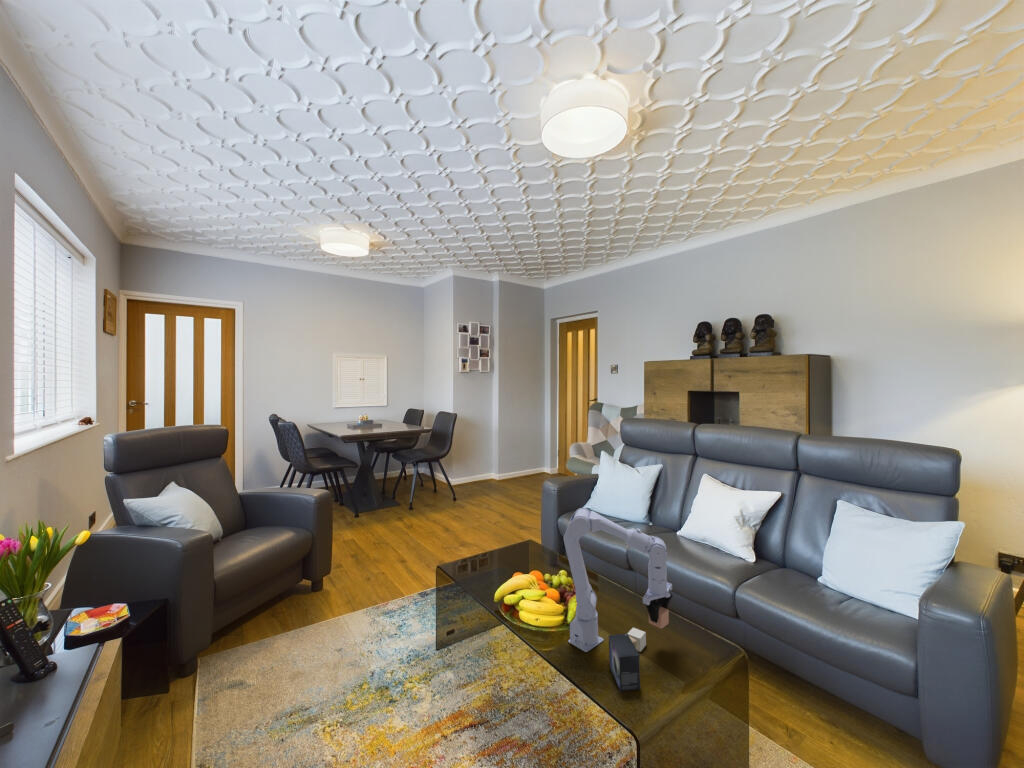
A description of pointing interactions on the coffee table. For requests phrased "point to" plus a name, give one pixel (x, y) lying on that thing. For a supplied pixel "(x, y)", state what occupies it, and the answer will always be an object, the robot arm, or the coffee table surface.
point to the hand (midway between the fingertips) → (658, 618)
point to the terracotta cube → (661, 618)
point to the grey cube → (638, 638)
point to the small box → (624, 662)
